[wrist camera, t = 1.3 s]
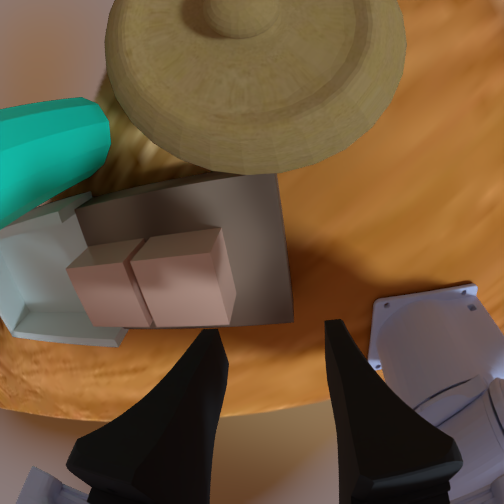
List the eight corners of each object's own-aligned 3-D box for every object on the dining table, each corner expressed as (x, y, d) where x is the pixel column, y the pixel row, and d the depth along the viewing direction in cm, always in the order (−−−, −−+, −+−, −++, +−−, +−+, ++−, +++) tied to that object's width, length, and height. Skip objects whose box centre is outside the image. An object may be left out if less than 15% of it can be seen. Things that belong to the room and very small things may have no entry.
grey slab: (274, 162, 17) (274, 171, 15) (293, 300, 22) (293, 322, 20) (92, 197, 19) (74, 209, 17) (134, 310, 24) (123, 328, 22)
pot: (248, -56, 11) (219, -152, 2) (400, 57, 14) (504, 33, 5) (128, 77, 16) (10, 78, 7) (272, 188, 18) (264, 279, 10)
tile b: (143, 238, 18) (122, 262, 15) (164, 298, 20) (149, 327, 17) (89, 246, 19) (65, 268, 16) (111, 300, 21) (93, 326, 18)
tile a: (221, 227, 17) (210, 252, 14) (236, 293, 19) (229, 324, 16) (150, 237, 18) (129, 261, 15) (171, 297, 20) (156, 326, 17)
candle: (123, 161, 18) (-15, 243, 8) (63, 189, 19) (-55, 270, 9) (96, 82, 16) (-58, 100, 5) (39, 120, 17) (-92, 166, 6)
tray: (90, 191, 19) (57, 211, 16) (137, 315, 24) (118, 347, 21) (-10, 223, 22) (-36, 241, 18) (32, 314, 26) (12, 336, 23)
